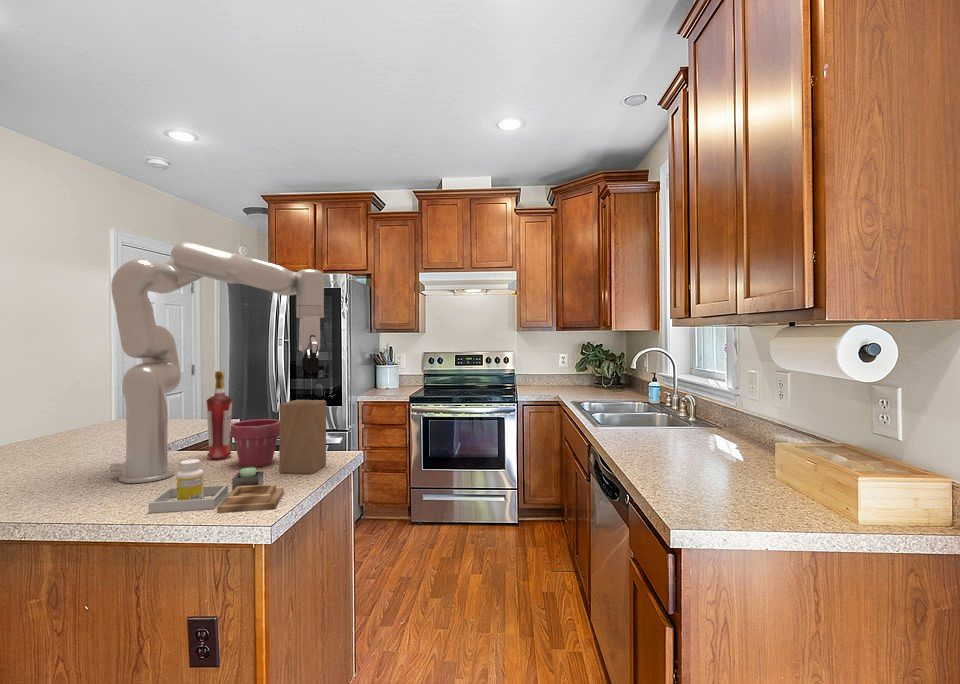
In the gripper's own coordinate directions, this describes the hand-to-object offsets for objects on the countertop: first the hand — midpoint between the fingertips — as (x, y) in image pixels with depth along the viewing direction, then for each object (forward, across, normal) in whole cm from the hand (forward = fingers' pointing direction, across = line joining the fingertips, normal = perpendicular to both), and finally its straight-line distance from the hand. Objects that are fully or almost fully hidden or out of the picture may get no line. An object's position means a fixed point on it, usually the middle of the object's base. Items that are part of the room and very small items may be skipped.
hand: (310, 371), depth 143 cm
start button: (+26, +13, -17) cm, 33 cm away
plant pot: (+29, -16, -14) cm, 36 cm away
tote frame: (+29, +17, -29) cm, 44 cm away
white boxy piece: (+29, +13, -17) cm, 36 cm away
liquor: (+29, -29, -24) cm, 48 cm away
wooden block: (+29, -3, -2) cm, 30 cm away
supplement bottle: (+29, +17, -29) cm, 45 cm away
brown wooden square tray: (+29, +23, -16) cm, 40 cm away
